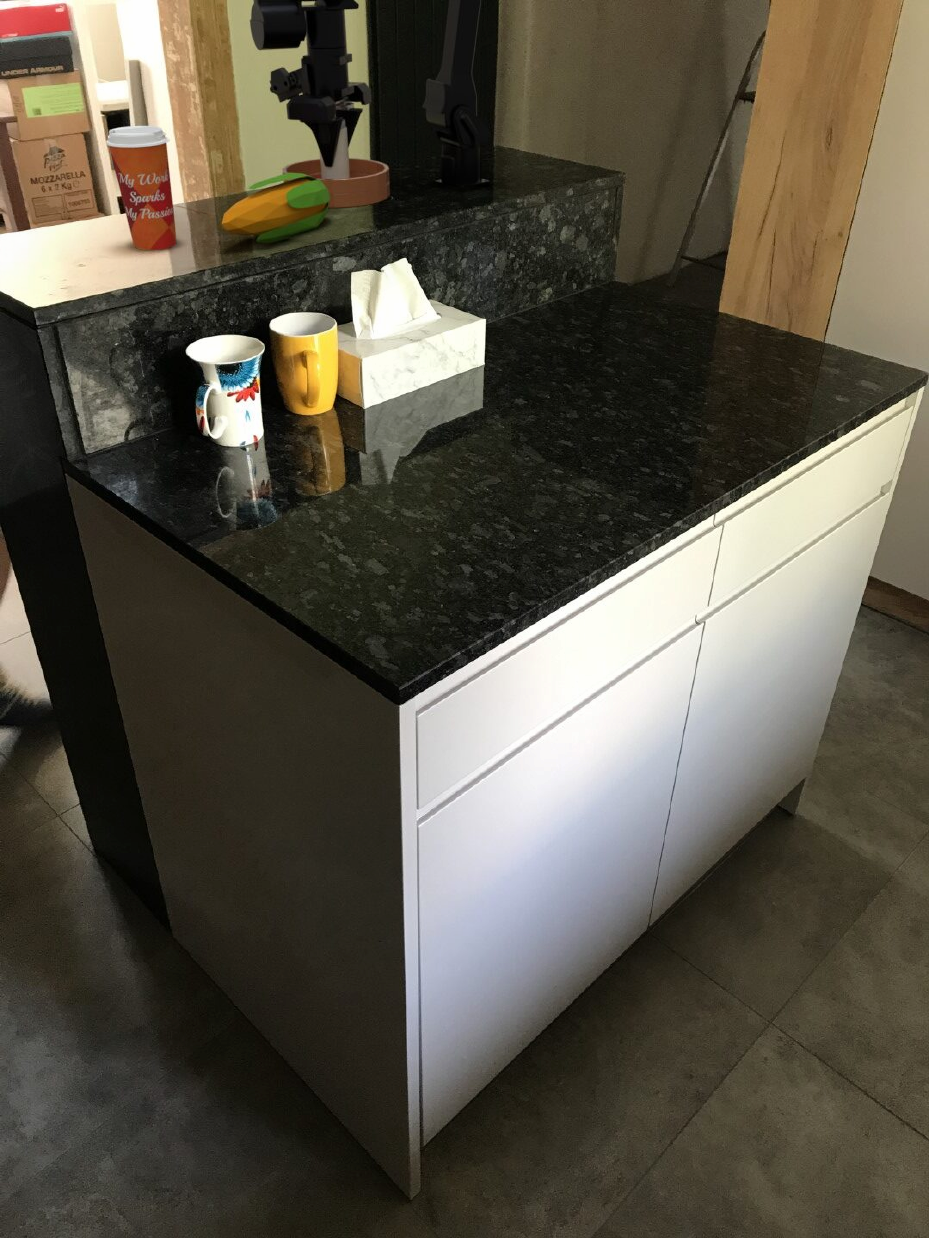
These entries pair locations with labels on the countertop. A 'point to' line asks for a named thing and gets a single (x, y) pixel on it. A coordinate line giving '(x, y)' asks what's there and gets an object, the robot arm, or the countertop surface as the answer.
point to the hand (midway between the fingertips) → (334, 163)
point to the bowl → (349, 182)
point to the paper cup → (144, 184)
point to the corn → (279, 208)
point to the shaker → (338, 159)
